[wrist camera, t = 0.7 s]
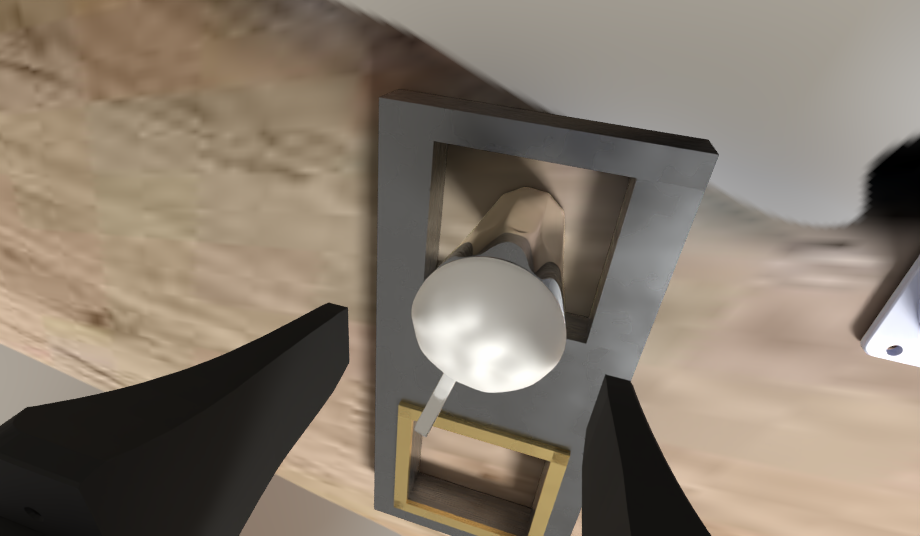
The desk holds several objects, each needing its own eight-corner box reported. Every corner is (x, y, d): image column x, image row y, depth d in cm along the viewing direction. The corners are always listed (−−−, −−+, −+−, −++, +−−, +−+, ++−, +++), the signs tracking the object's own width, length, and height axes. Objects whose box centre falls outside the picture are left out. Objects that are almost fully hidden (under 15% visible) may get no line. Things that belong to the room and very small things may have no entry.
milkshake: (451, 244, 22) (353, 392, 14) (511, 150, 19) (432, 263, 11) (532, 297, 22) (483, 474, 14) (604, 210, 19) (597, 368, 11)
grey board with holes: (708, 139, 17) (720, 157, 15) (559, 540, 30) (555, 576, 29) (399, 89, 19) (375, 98, 17) (386, 483, 33) (372, 513, 31)
